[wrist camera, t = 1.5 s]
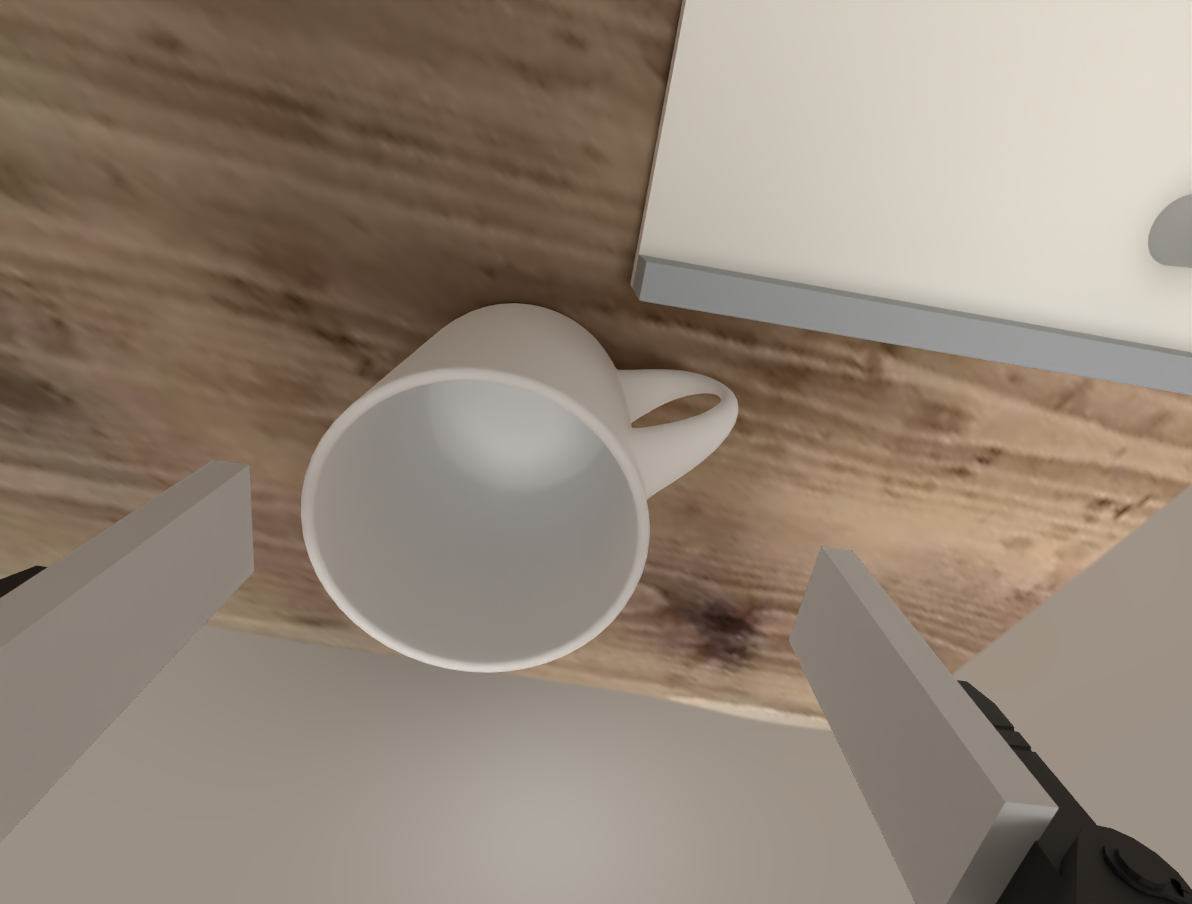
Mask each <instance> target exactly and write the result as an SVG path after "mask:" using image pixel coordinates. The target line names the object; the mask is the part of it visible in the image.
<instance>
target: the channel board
mask: <svg viewBox="0 0 1192 904" xmlns="http://www.w3.org/2000/svg"><path fill="white" fill-rule="evenodd" d="M630 285H631V287H632V289H633V290H634V292H635V294H636V296H637V298H638V299H639V301H645V302H650V303H656V304H662V305H668V306H674V307H680V308H685V309H691V310H697V311H703V312H709V313H715V314H721V315H726V316H732V317H738V318H744V319H750V320H756V321H761V322H767V323H773V324H779V325H785V326H791V327H797V328H802V329H808V330H814V331H820V332H826V333H832V334H837V335H843V336H849V337H855V338H861V339H867V340H873V341H878V342H884V343H890V344H896V345H902V346H908V347H913V348H919V349H925V350H931V351H937V352H943V353H949V354H954V355H960V356H966V357H972V358H978V359H984V360H989V361H995V362H1001V363H1007V364H1013V365H1019V366H1025V367H1030V368H1036V369H1042V370H1048V371H1054V372H1060V373H1065V374H1071V375H1077V376H1083V377H1089V378H1095V379H1101V380H1106V381H1112V382H1118V383H1124V384H1130V385H1136V386H1141V387H1147V388H1153V389H1159V390H1165V391H1171V392H1177V393H1182V394H1188V395H1192V0H683V1H682V6H681V12H680V17H679V23H678V28H677V33H676V39H675V44H674V50H673V55H672V61H671V66H670V71H669V77H668V82H667V88H666V93H665V99H664V104H663V109H662V115H661V120H660V126H659V131H658V136H657V142H656V147H655V153H654V158H653V164H652V169H651V174H650V180H649V185H648V191H647V196H646V202H645V207H644V212H643V218H642V223H641V229H640V234H639V239H638V245H637V250H636V256H635V261H634V267H633V272H632V277H631V283H630Z"/></svg>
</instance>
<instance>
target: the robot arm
mask: <svg viewBox="0 0 1192 904" xmlns="http://www.w3.org/2000/svg"><path fill="white" fill-rule="evenodd" d="M253 572H254V557H253V535H252V513H251V491H250V469H249V465H248V464H241V463H234V462H227V461H220V460H212V461H210V462H209V463H207V464H206V465H204V466H202V467H201V468H199V469H198V470H196V471H195V472H193V473H192V474H190V475H189V476H187V477H186V478H184V479H183V480H181V481H179V482H178V483H176V484H175V485H173V486H172V487H170V488H169V489H167V490H166V491H164V492H163V493H161V494H159V495H158V496H156V497H155V498H153V499H152V500H150V501H149V502H147V503H146V504H144V505H143V506H141V507H139V508H138V509H136V510H135V511H133V512H132V513H130V514H129V515H127V516H126V517H124V518H123V519H121V520H120V521H118V522H116V523H115V524H113V525H112V526H110V527H109V528H107V529H106V530H104V531H103V532H101V533H100V534H98V535H96V536H95V537H93V538H92V539H90V540H89V541H87V542H86V543H84V544H83V545H81V546H80V547H78V548H77V549H75V550H73V551H72V552H70V553H69V554H67V555H66V556H64V557H63V558H61V559H60V560H58V561H57V562H55V563H53V564H52V565H50V566H49V567H42V566H34V567H32V568H29V569H27V570H24V571H21V572H19V573H16V574H14V575H11V576H8V577H6V578H3V579H0V842H1V841H2V840H3V839H4V838H5V837H6V836H7V835H8V834H9V833H10V832H11V830H12V829H13V828H14V827H15V826H16V825H17V824H18V823H19V822H20V821H21V820H22V819H23V818H24V817H25V815H26V814H27V813H28V812H29V811H30V810H31V809H32V808H33V807H34V806H35V805H36V804H37V803H38V802H39V801H40V799H41V798H42V797H43V796H44V795H45V794H46V793H47V792H48V791H49V790H50V789H51V788H52V786H54V784H55V783H56V782H57V781H58V780H59V779H60V778H61V777H62V776H63V775H64V774H65V773H66V772H67V771H68V769H69V768H70V767H71V766H72V765H73V764H74V763H75V762H76V761H77V760H78V759H79V758H80V757H81V756H82V755H83V754H84V752H85V751H86V750H87V749H88V748H89V747H90V746H91V745H92V744H93V743H94V742H95V741H96V739H97V738H99V736H100V735H101V734H102V733H103V732H104V731H105V730H106V729H107V728H108V727H109V726H110V725H111V723H113V721H114V720H115V719H116V718H117V717H118V716H119V715H120V714H121V713H122V712H123V711H124V710H125V709H126V708H127V707H128V705H129V704H130V703H131V702H132V701H133V700H134V699H135V698H136V697H137V695H139V694H140V693H141V692H142V690H143V689H144V688H145V687H146V686H147V685H148V684H149V683H150V682H151V681H152V680H153V679H154V678H155V677H156V675H157V674H158V673H159V672H160V671H161V670H162V669H163V668H164V667H165V666H166V665H167V664H168V663H169V662H170V661H171V659H172V658H173V657H174V656H175V655H176V654H177V653H178V652H179V651H180V650H181V649H182V648H183V647H184V646H185V645H186V643H187V642H188V641H189V640H190V639H191V638H192V637H193V636H194V635H195V634H196V633H197V632H198V631H199V629H200V628H201V627H202V626H203V625H204V624H205V623H206V622H207V621H208V620H209V619H210V618H211V617H212V616H213V615H214V614H215V612H216V611H217V610H218V609H219V608H220V607H221V606H222V605H223V604H224V603H225V602H226V601H227V600H228V599H229V597H230V596H231V595H232V594H233V593H234V592H235V591H236V590H237V589H238V588H239V587H240V586H241V585H242V584H243V583H244V581H245V580H246V579H247V578H248V577H249V576H250V575H251V574H252V573H253ZM789 642H790V644H791V646H792V648H793V650H794V652H795V654H796V657H797V659H798V661H799V663H800V665H801V667H802V669H803V671H804V673H805V675H806V677H807V679H808V681H809V683H810V686H811V688H812V690H813V692H814V694H815V696H816V698H817V700H818V702H819V704H820V706H821V708H822V710H823V713H824V715H825V717H826V719H827V721H828V723H829V725H830V727H831V729H832V731H833V733H834V735H835V737H836V739H837V741H838V744H839V746H840V748H841V750H842V752H843V754H844V756H845V758H846V760H847V762H848V764H849V766H850V769H851V771H852V773H853V775H854V777H855V779H856V781H857V783H858V785H859V787H860V789H861V791H862V793H863V795H864V797H865V800H866V802H867V804H868V806H869V808H870V810H871V812H872V814H873V816H874V818H875V820H876V822H877V825H878V827H879V829H880V831H881V833H882V835H883V837H884V839H885V841H886V843H887V845H888V847H889V849H890V851H891V854H892V856H893V858H894V860H895V862H896V864H897V866H898V868H899V870H900V872H901V874H902V876H903V878H904V880H905V882H906V884H907V887H908V889H909V891H910V893H911V895H912V897H913V899H914V901H915V903H916V904H1192V889H1191V888H1190V887H1189V886H1188V884H1187V883H1186V882H1185V881H1184V879H1183V878H1182V877H1181V876H1180V875H1179V873H1178V872H1177V871H1176V870H1175V869H1173V868H1172V867H1171V866H1170V865H1169V864H1168V863H1167V862H1166V861H1164V860H1163V859H1162V858H1161V857H1160V856H1159V855H1157V854H1156V853H1155V852H1153V851H1152V850H1150V849H1149V848H1147V847H1146V846H1144V845H1143V844H1141V843H1140V842H1138V841H1136V840H1135V839H1134V838H1132V837H1129V836H1127V835H1125V834H1123V833H1121V832H1118V831H1116V830H1114V829H1111V828H1107V827H1102V826H1097V825H1096V823H1095V822H1094V821H1093V820H1092V819H1091V818H1090V816H1089V815H1088V814H1087V813H1086V812H1085V810H1084V809H1083V808H1082V807H1081V806H1080V805H1079V804H1078V802H1077V801H1076V800H1075V799H1074V797H1073V796H1072V795H1071V794H1070V793H1069V792H1068V790H1067V789H1066V788H1065V787H1064V786H1063V784H1062V783H1061V782H1060V781H1059V780H1058V778H1057V777H1056V776H1055V775H1054V774H1053V773H1052V771H1051V770H1050V769H1049V768H1048V767H1047V765H1046V764H1045V763H1044V762H1043V761H1042V760H1041V758H1040V757H1039V756H1038V755H1037V754H1036V752H1032V751H1031V746H1030V745H1029V744H1028V743H1027V742H1026V740H1025V739H1024V738H1023V737H1022V736H1021V734H1020V733H1019V732H1015V731H1014V727H1013V725H1012V724H1011V723H1010V721H1009V720H1008V719H1007V718H1006V717H1005V716H1004V714H1003V713H1002V712H1001V711H1000V710H999V708H998V707H997V706H996V705H995V704H994V703H993V702H992V701H991V700H989V699H988V698H987V697H986V696H984V695H983V694H982V693H981V692H979V691H978V690H977V689H976V688H974V687H973V686H972V685H971V684H969V683H968V682H966V681H958V680H956V679H955V678H954V676H953V675H952V674H951V673H950V672H949V670H948V669H947V668H946V667H945V665H944V664H943V663H942V662H941V660H940V659H939V658H938V657H937V655H936V654H935V653H934V652H933V650H932V649H931V648H930V647H929V645H928V644H927V643H926V642H925V640H924V639H923V638H922V637H921V635H920V634H919V633H918V632H917V630H916V629H915V628H914V627H913V625H912V624H911V623H910V622H909V620H908V619H907V618H906V617H905V615H904V614H903V613H902V612H901V610H900V609H899V608H898V607H897V606H896V604H895V603H894V602H893V601H892V599H891V598H890V597H889V596H888V594H887V593H886V592H885V591H884V589H883V588H882V587H881V586H880V584H879V583H878V582H877V581H876V579H875V578H874V577H873V576H872V574H871V573H870V572H869V571H868V569H867V568H866V567H865V566H864V564H863V563H862V562H861V561H860V559H859V558H858V557H857V556H856V554H855V553H854V552H853V551H852V550H845V549H838V548H831V547H824V546H821V549H820V552H819V555H818V557H817V560H816V563H815V566H814V569H813V572H812V575H811V577H810V580H809V583H808V586H807V589H806V592H805V595H804V598H803V600H802V603H801V606H800V609H799V612H798V615H797V618H796V620H795V623H794V626H793V629H792V632H791V635H790V638H789Z"/></svg>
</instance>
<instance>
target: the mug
mask: <svg viewBox="0 0 1192 904" xmlns="http://www.w3.org/2000/svg"><path fill="white" fill-rule="evenodd" d="M701 393H709V394H715V395H717V396H719V397H720V398H721V401H720V403H719V404H717V405H716V406H715V407H713V408H712V409H710V410H708V411H706V412H704V413H702V414H699V415H697V416H694V417H691V418H688V419H684V420H680V421H676V422H672V423H667V424H662V425H657V426H649V427H642V428H632V426H631V424H632V423H633V422H634V421H635V420H637V419H638V418H640V417H641V416H643V415H645V414H646V413H648V412H650V411H652V410H654V409H655V408H657V407H659V406H661V405H663V404H665V403H668V402H670V401H672V400H675V399H678V398H681V397H685V396H689V395H694V394H701ZM737 415H738V401H737V399H736V397H735V395H734V393H733V392H732V391H731V390H730V389H729V388H728V387H727V386H725V385H724V384H722V383H721V382H719V381H717V380H715V379H713V378H710V377H708V376H705V375H701V374H698V373H694V372H688V371H681V370H669V369H640V370H618V369H616V368H615V366H614V364H613V362H612V360H611V359H610V357H609V356H608V354H607V352H606V351H605V349H604V348H603V347H602V346H601V344H600V343H599V342H598V341H597V340H596V338H595V337H594V336H593V335H591V334H590V333H589V332H588V331H587V330H586V329H585V328H584V327H582V326H581V325H579V324H578V323H576V322H575V321H573V320H572V319H570V318H568V317H566V316H564V315H562V314H560V313H558V312H556V311H553V310H550V309H547V308H544V307H540V306H535V305H530V304H518V303H508V304H497V305H492V306H486V307H483V308H480V309H477V310H474V311H471V312H469V313H467V314H465V315H463V316H461V317H459V318H457V319H455V320H454V321H452V322H451V323H449V324H448V325H447V326H445V327H444V328H442V329H441V330H440V331H438V332H437V333H436V334H435V335H434V336H432V337H431V338H430V339H429V340H428V341H427V342H425V343H424V344H423V345H422V346H421V347H419V348H418V349H417V350H416V351H415V352H413V353H412V354H411V355H410V356H409V357H408V358H406V359H405V360H404V361H403V362H402V363H400V364H399V365H398V366H397V367H396V368H394V369H393V370H392V371H391V372H390V373H388V374H387V375H386V376H385V377H384V378H383V379H381V380H380V381H379V382H378V383H377V384H375V385H374V386H373V387H372V388H371V389H369V390H368V391H367V392H366V393H365V394H364V395H362V396H361V397H360V398H359V399H358V400H356V401H355V402H354V403H353V404H352V405H351V406H350V407H348V408H347V409H346V410H345V411H344V412H343V413H342V414H341V415H340V416H339V417H338V418H337V419H336V420H335V421H334V422H333V424H332V425H331V426H330V428H329V429H328V430H327V431H326V433H325V434H324V435H323V437H322V438H321V440H320V442H319V444H318V446H317V448H316V449H315V451H314V453H313V455H312V457H311V460H310V463H309V466H308V469H307V472H306V474H305V479H304V484H303V490H302V495H301V522H302V529H303V537H304V541H305V545H306V548H307V552H308V555H309V558H310V560H311V563H312V565H313V567H314V570H315V572H316V574H317V576H318V578H319V580H320V581H321V583H322V584H323V586H324V588H325V589H326V591H327V593H328V594H329V595H330V597H331V598H332V599H333V600H334V602H335V603H336V604H337V605H338V607H339V608H340V609H341V610H342V611H343V612H344V613H345V614H346V615H347V616H348V617H349V618H350V619H351V620H352V621H353V622H354V623H355V624H356V625H357V626H359V627H360V628H361V629H363V630H364V631H365V632H366V633H368V634H369V635H370V636H371V637H373V638H375V639H376V640H378V641H379V642H381V643H383V644H384V645H386V646H387V647H389V648H391V649H393V650H395V651H397V652H399V653H402V654H404V655H406V656H408V657H411V658H413V659H416V660H419V661H421V662H424V663H427V664H431V665H435V666H439V667H443V668H447V669H453V670H461V671H467V672H505V671H513V670H519V669H525V668H530V667H534V666H537V665H541V664H544V663H548V662H550V661H553V660H555V659H558V658H560V657H563V656H565V655H567V654H569V653H571V652H572V651H574V650H576V649H578V648H580V647H582V646H583V645H585V644H586V643H587V642H589V641H590V640H592V639H593V638H595V637H596V636H597V635H598V634H600V633H601V632H602V631H603V630H604V629H605V628H606V627H607V626H608V625H609V624H610V623H611V622H612V621H613V620H614V619H615V618H616V616H617V615H618V614H619V613H620V612H621V611H622V609H623V608H624V607H625V605H626V603H627V602H628V600H629V599H630V597H631V595H632V594H633V592H634V591H635V589H636V586H637V584H638V582H639V580H640V577H641V575H642V573H643V569H644V565H645V562H646V558H647V554H648V546H649V538H650V526H649V511H648V506H647V499H648V498H650V497H651V496H653V495H654V494H655V493H657V492H658V491H660V490H661V489H663V488H665V487H666V486H668V485H669V484H671V483H672V482H674V481H675V480H677V479H678V478H680V477H681V476H683V475H684V474H686V473H687V472H689V471H690V470H692V469H693V468H694V467H696V466H697V465H698V464H700V463H701V462H702V461H704V460H705V459H706V458H707V457H708V456H709V455H710V454H711V453H712V452H714V451H715V450H716V449H717V448H718V446H719V445H720V444H721V443H722V442H723V441H724V440H725V438H726V437H727V436H728V435H729V433H730V432H731V430H732V428H733V426H734V425H735V423H736V419H737Z"/></svg>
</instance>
